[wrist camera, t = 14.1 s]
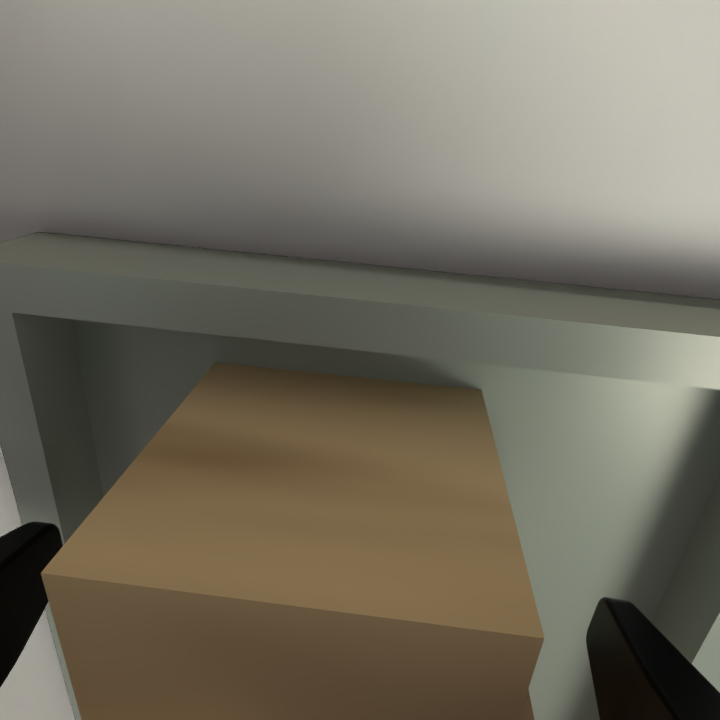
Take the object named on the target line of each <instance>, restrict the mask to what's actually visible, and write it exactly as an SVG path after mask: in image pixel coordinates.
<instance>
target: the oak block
mask: <svg viewBox="0 0 720 720" xmlns="http://www.w3.org/2000/svg"><path fill="white" fill-rule="evenodd" d="M41 576H42V580H43V583H44V587H45V591H46V594H47V598H48V601H49V605H50V609H51V612H52V616H53V619H54V623H55V626H56V630H57V634H58V637H59V641H60V644H61V648H62V652H63V655H64V659H65V662H66V666H67V670H68V673H69V677H70V680H71V684H72V687H73V691H74V695H75V698H76V702H77V705H78V709H79V713H80V716H81V720H518V718H519V715H520V712H521V709H522V706H523V703H524V700H525V697H526V694H527V691H528V688H529V685H530V682H531V679H532V675H533V672H534V669H535V666H536V663H537V660H538V657H539V654H540V651H541V648H542V645H543V642H544V639H545V638H544V634H543V630H542V626H541V622H540V618H539V614H538V610H537V606H536V602H535V598H534V595H533V591H532V587H531V583H530V579H529V575H528V571H527V567H526V563H525V559H524V555H523V551H522V547H521V543H520V539H519V535H518V531H517V528H516V524H515V520H514V516H513V512H512V508H511V504H510V500H509V496H508V492H507V488H506V484H505V480H504V476H503V472H502V468H501V464H500V460H499V457H498V453H497V449H496V445H495V441H494V437H493V433H492V429H491V425H490V421H489V417H488V413H487V409H486V405H485V401H484V397H483V393H482V390H480V389H470V388H460V387H450V386H440V385H431V384H421V383H411V382H401V381H391V380H382V379H372V378H362V377H352V376H342V375H333V374H323V373H313V372H303V371H293V370H284V369H274V368H264V367H254V366H244V365H235V364H225V363H214V365H213V366H212V367H211V368H210V370H209V371H208V372H207V373H206V374H205V376H204V377H203V378H202V379H201V380H200V382H199V383H198V384H197V385H196V386H195V388H194V389H193V390H192V391H191V392H190V394H189V395H188V396H187V397H186V398H185V400H184V401H183V402H182V403H181V404H180V406H179V407H178V408H177V409H176V411H175V412H174V413H173V414H172V415H171V417H170V418H169V419H168V420H167V421H166V423H165V424H164V425H163V426H162V427H161V429H160V430H159V431H158V432H157V433H156V435H155V436H154V437H153V438H152V439H151V441H150V442H149V443H148V444H147V445H146V447H145V448H144V449H143V450H142V451H141V453H140V454H139V455H138V456H137V458H136V459H135V460H134V461H133V462H132V464H131V465H130V466H129V467H128V468H127V470H126V471H125V472H124V473H123V474H122V476H121V477H120V478H119V479H118V480H117V482H116V483H115V484H114V485H113V486H112V488H111V489H110V490H109V491H108V492H107V494H106V495H105V496H104V497H103V498H102V500H101V501H100V502H99V503H98V505H97V506H96V507H95V508H94V509H93V511H92V512H91V513H90V514H89V515H88V517H87V518H86V519H85V520H84V521H83V523H82V524H81V525H80V526H79V527H78V529H77V530H76V531H75V532H74V533H73V535H72V536H71V537H70V538H69V539H68V541H67V542H66V543H65V544H64V546H63V547H62V548H61V549H60V550H59V552H58V553H57V554H56V555H55V556H54V558H53V559H52V560H51V561H50V562H49V564H48V565H47V566H46V567H45V568H44V570H43V571H42V572H41Z"/></svg>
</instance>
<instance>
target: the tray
mask: <svg viewBox="0 0 720 720" xmlns="http://www.w3.org/2000/svg"><path fill="white" fill-rule="evenodd" d="M214 363H225V364H235V365H244V366H254V367H264V368H274V369H284V370H293V371H303V372H313V373H323V374H333V375H342V376H352V377H362V378H372V379H382V380H391V381H401V382H411V383H421V384H431V385H440V386H450V387H460V388H470V389H480V390H482V393H483V397H484V401H485V405H486V409H487V413H488V417H489V421H490V425H491V429H492V433H493V437H494V441H495V445H496V449H497V453H498V457H499V460H500V464H501V468H502V472H503V476H504V480H505V484H506V488H507V492H508V496H509V500H510V504H511V508H512V512H513V516H514V520H515V524H516V528H517V531H518V535H519V539H520V543H521V547H522V551H523V555H524V559H525V563H526V567H527V571H528V575H529V579H530V583H531V587H532V591H533V595H534V598H535V602H536V606H537V610H538V614H539V618H540V622H541V626H542V630H543V634H544V638H545V639H544V642H543V645H542V648H541V651H540V654H539V657H538V660H537V663H536V666H535V669H534V672H533V675H532V679H531V682H530V685H529V688H528V690H529V695H530V700H531V704H532V709H533V714H534V719H535V720H600V719H599V713H598V708H597V702H596V696H595V691H594V685H593V680H592V674H591V669H590V663H589V657H588V652H587V646H586V634H587V629H588V627H589V624H590V621H591V619H592V616H593V614H594V611H595V609H596V606H597V604H598V602H599V600H600V599H601V598H603V597H611V598H618V599H625V600H628V601H630V602H631V603H633V604H634V605H635V606H636V607H637V608H638V609H639V610H640V611H641V612H642V613H643V614H644V615H645V616H646V617H647V619H648V620H649V621H650V622H651V623H652V624H653V625H654V626H655V627H656V628H657V629H658V630H659V631H660V632H661V633H662V634H663V635H664V636H665V637H666V638H667V639H668V640H669V641H670V642H671V643H672V644H673V645H674V646H675V647H676V648H677V649H678V650H679V651H680V652H681V653H682V654H683V655H684V656H685V657H686V658H687V659H688V660H689V661H690V662H691V663H692V664H693V665H694V666H695V668H696V669H697V670H698V671H699V672H700V673H701V674H702V675H703V676H704V677H705V678H706V679H707V680H708V681H709V682H710V683H711V684H712V685H713V686H714V687H715V688H716V689H717V690H718V691H719V692H720V300H716V299H706V298H696V297H686V296H676V295H666V294H656V293H646V292H636V291H626V290H616V289H606V288H596V287H586V286H576V285H566V284H556V283H546V282H536V281H526V280H516V279H506V278H496V277H486V276H476V275H466V274H456V273H446V272H435V271H425V270H415V269H405V268H395V267H385V266H375V265H365V264H355V263H345V262H335V261H325V260H315V259H305V258H295V257H285V256H275V255H265V254H255V253H245V252H235V251H225V250H215V249H205V248H195V247H185V246H175V245H165V244H155V243H145V242H135V241H124V240H114V239H104V238H94V237H84V236H74V235H64V234H54V233H44V232H36V233H32V234H29V235H25V236H22V237H18V238H15V239H11V240H8V241H4V242H1V243H0V444H1V448H2V452H3V455H4V459H5V463H6V467H7V470H8V474H9V478H10V481H11V485H12V489H13V492H14V496H15V500H16V503H17V507H18V511H19V515H20V518H21V522H22V525H24V524H26V523H29V522H34V521H36V522H44V523H52V524H55V525H56V526H57V527H58V528H59V530H60V535H61V539H62V543H63V546H64V544H65V543H66V542H67V541H68V539H69V538H70V537H71V536H72V535H73V533H74V532H75V531H76V530H77V529H78V527H79V526H80V525H81V524H82V523H83V521H84V520H85V519H86V518H87V517H88V515H89V514H90V513H91V512H92V511H93V509H94V508H95V507H96V506H97V505H98V503H99V502H100V501H101V500H102V498H103V497H104V496H105V495H106V494H107V492H108V491H109V490H110V489H111V488H112V486H113V485H114V484H115V483H116V482H117V480H118V479H119V478H120V477H121V476H122V474H123V473H124V472H125V471H126V470H127V468H128V467H129V466H130V465H131V464H132V462H133V461H134V460H135V459H136V458H137V456H138V455H139V454H140V453H141V451H142V450H143V449H144V448H145V447H146V445H147V444H148V443H149V442H150V441H151V439H152V438H153V437H154V436H155V435H156V433H157V432H158V431H159V430H160V429H161V427H162V426H163V425H164V424H165V423H166V421H167V420H168V419H169V418H170V417H171V415H172V414H173V413H174V412H175V411H176V409H177V408H178V407H179V406H180V404H181V403H182V402H183V401H184V400H185V398H186V397H187V396H188V395H189V394H190V392H191V391H192V390H193V389H194V388H195V386H196V385H197V384H198V383H199V382H200V380H201V379H202V378H203V377H204V376H205V374H206V373H207V372H208V371H209V370H210V368H211V367H212V366H213V365H214ZM45 610H46V614H47V618H48V622H49V625H50V629H51V633H52V636H53V640H54V644H55V647H56V651H57V655H58V658H59V662H60V666H61V670H62V673H63V677H64V681H65V684H66V688H67V692H68V695H69V699H70V703H71V706H72V710H73V714H74V718H75V720H81V716H80V713H79V709H78V705H77V702H76V698H75V695H74V691H73V687H72V684H71V680H70V677H69V673H68V670H67V666H66V662H65V659H64V655H63V652H62V648H61V644H60V641H59V637H58V634H57V630H56V626H55V623H54V619H53V616H52V612H51V609H50V605H49V601H48V603H47V605H46V607H45Z"/></svg>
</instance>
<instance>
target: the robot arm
mask: <svg viewBox="0 0 720 720" xmlns="http://www.w3.org/2000/svg"><path fill="white" fill-rule="evenodd" d="M62 547H63V543H62V539H61V535H60V530H59V528H58V527H57V526H56V525H55V524H52V523H44V522H36V521H34V522H29V523H26V524H24V525H22V526H20V527H19V528H17V529H15V530H13V531H11V532H9V533H7V534H5V535H3V536H1V537H0V687H1V685H2V684H3V682H4V681H5V679H6V678H7V676H8V674H9V673H10V671H11V670H12V668H13V666H14V665H15V663H16V661H17V659H18V658H19V656H20V654H21V652H22V651H23V649H24V647H25V645H26V643H27V641H28V639H29V637H30V636H31V634H32V632H33V630H34V628H35V626H36V624H37V622H38V620H39V618H40V617H41V615H42V613H43V611H44V609H45V607H46V605H47V603H48V598H47V594H46V591H45V587H44V583H43V580H42V576H41V572H42V571H43V570H44V568H45V567H46V566H47V565H48V564H49V562H50V561H51V560H52V559H53V558H54V556H55V555H56V554H57V553H58V552H59V550H60V549H61V548H62ZM586 646H587V652H588V657H589V663H590V669H591V674H592V680H593V685H594V691H595V696H596V702H597V708H598V713H599V719H600V720H720V692H719V691H718V690H717V689H716V688H715V687H714V686H713V685H712V684H711V683H710V682H709V681H708V680H707V679H706V678H705V677H704V676H703V675H702V674H701V673H700V672H699V671H698V670H697V669H696V668H695V666H694V665H693V664H692V663H691V662H690V661H689V660H688V659H687V658H686V657H685V656H684V655H683V654H682V653H681V652H680V651H679V650H678V649H677V648H676V647H675V646H674V645H673V644H672V643H671V642H670V641H669V640H668V639H667V638H666V637H665V636H664V635H663V634H662V633H661V632H660V631H659V630H658V629H657V628H656V627H655V626H654V625H653V624H652V623H651V622H650V621H649V620H648V619H647V617H646V616H645V615H644V614H643V613H642V612H641V611H640V610H639V609H638V608H637V607H636V606H635V605H634V604H633V603H631V602H630V601H628V600H625V599H618V598H611V597H603V598H601V599H600V600H599V602H598V604H597V606H596V609H595V611H594V614H593V616H592V619H591V621H590V624H589V627H588V629H587V634H586Z"/></svg>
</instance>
